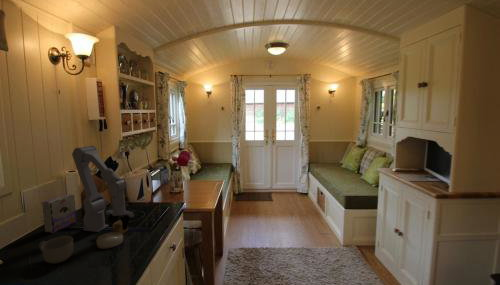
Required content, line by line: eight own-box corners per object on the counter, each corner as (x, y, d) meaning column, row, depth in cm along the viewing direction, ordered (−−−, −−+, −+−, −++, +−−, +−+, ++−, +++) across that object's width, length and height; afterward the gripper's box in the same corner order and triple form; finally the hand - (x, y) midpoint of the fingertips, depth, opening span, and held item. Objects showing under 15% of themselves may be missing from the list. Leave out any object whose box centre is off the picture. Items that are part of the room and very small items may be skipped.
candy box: (69, 221, 151) (66, 193, 149) (77, 222, 149) (74, 194, 147) (44, 232, 137) (41, 201, 135) (53, 233, 136) (50, 202, 134)
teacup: (80, 255, 115) (79, 237, 114) (55, 269, 105) (53, 250, 104) (57, 250, 119) (56, 233, 118) (31, 263, 109) (29, 244, 108)
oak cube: (113, 233, 135) (112, 224, 135) (119, 229, 140) (119, 220, 140) (121, 234, 134) (121, 224, 134) (128, 230, 139) (127, 220, 138)
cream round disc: (91, 247, 122) (90, 241, 121) (108, 236, 132) (108, 231, 132) (112, 250, 119) (111, 244, 119) (128, 238, 130) (127, 233, 130)
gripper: (100, 205, 133) (102, 230, 135) (126, 207, 130) (127, 233, 132) (110, 200, 140) (112, 225, 142) (135, 202, 137) (136, 227, 138)
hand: (120, 228), depth 137 cm, fingers closed on oak cube, 5 cm apart
